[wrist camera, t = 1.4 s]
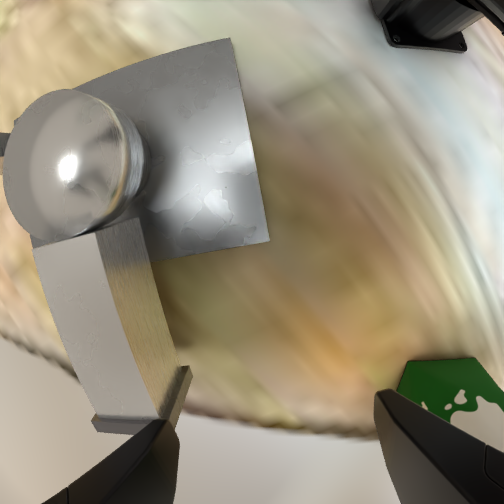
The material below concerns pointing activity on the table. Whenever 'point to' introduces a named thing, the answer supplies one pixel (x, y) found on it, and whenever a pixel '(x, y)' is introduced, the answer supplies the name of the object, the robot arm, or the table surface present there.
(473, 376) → the milk carton
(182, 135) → the base
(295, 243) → the table surface
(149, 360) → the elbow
